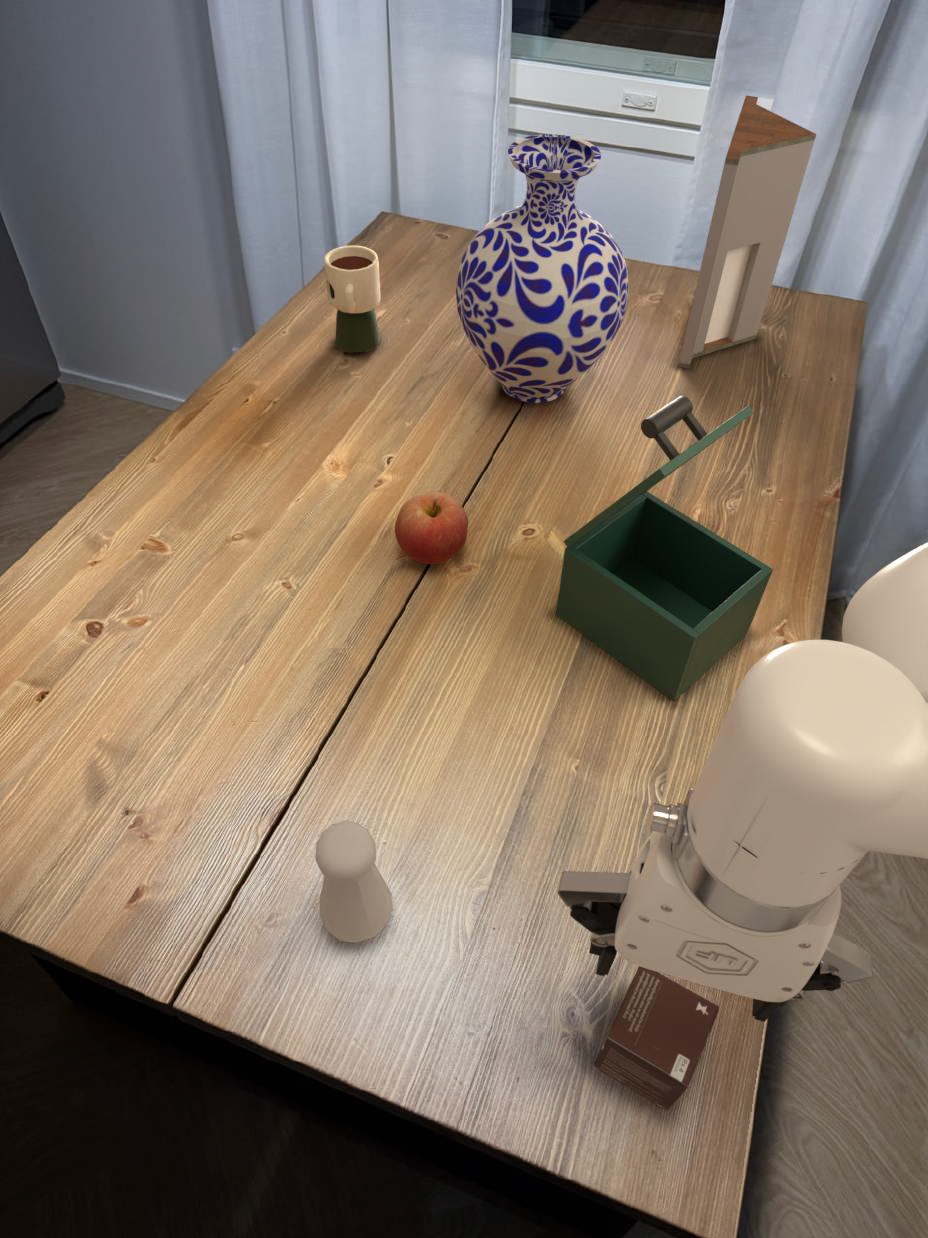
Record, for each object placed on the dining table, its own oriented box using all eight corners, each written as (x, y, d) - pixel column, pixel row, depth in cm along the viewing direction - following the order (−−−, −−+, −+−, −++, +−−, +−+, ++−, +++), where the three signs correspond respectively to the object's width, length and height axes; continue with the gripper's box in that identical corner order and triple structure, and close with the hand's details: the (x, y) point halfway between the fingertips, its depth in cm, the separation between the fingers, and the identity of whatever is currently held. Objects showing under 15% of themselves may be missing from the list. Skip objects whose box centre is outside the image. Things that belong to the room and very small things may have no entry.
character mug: (337, 323, 130) (328, 237, 121) (386, 325, 130) (381, 238, 121) (328, 366, 123) (319, 277, 114) (380, 367, 123) (374, 279, 114)
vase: (606, 441, 114) (647, 205, 91) (440, 420, 116) (440, 184, 93) (617, 349, 127) (655, 124, 105) (469, 332, 130) (475, 108, 107)
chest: (747, 634, 93) (773, 569, 85) (673, 702, 87) (694, 638, 80) (630, 556, 100) (645, 490, 93) (555, 614, 94) (564, 548, 87)
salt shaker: (342, 873, 75) (327, 795, 65) (404, 897, 74) (398, 821, 64) (309, 937, 71) (288, 864, 61) (374, 964, 70) (363, 894, 60)
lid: (754, 412, 78) (720, 366, 78) (665, 476, 72) (628, 426, 72) (648, 489, 92) (620, 450, 92) (567, 548, 86) (537, 506, 86)
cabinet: (699, 293, 138) (745, 95, 117) (762, 304, 136) (821, 105, 115) (678, 366, 125) (725, 157, 104) (747, 379, 123) (810, 169, 102)
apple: (482, 545, 101) (484, 491, 95) (442, 587, 96) (442, 534, 90) (424, 517, 104) (423, 464, 98) (383, 558, 99) (379, 504, 93)
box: (625, 994, 69) (641, 959, 63) (699, 1037, 67) (722, 1005, 61) (591, 1067, 65) (605, 1037, 60) (667, 1114, 63) (689, 1088, 58)
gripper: (565, 872, 42) (533, 994, 55) (951, 975, 39) (821, 1078, 52) (592, 742, 46) (557, 883, 59) (938, 826, 44) (822, 954, 57)
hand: (680, 974), depth 56 cm, fingers open, 9 cm apart
